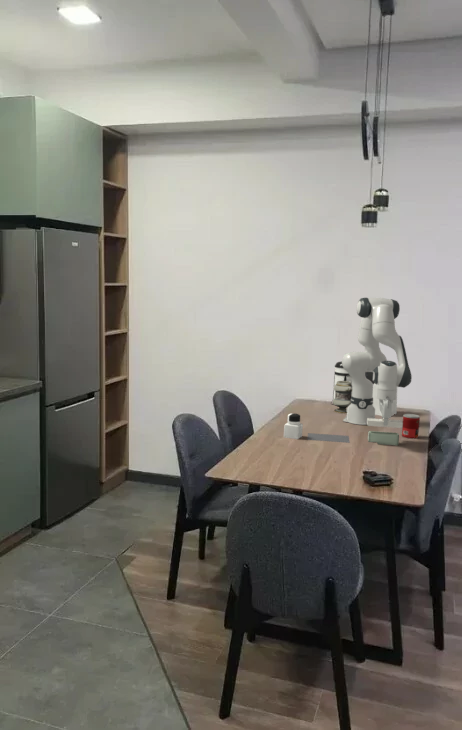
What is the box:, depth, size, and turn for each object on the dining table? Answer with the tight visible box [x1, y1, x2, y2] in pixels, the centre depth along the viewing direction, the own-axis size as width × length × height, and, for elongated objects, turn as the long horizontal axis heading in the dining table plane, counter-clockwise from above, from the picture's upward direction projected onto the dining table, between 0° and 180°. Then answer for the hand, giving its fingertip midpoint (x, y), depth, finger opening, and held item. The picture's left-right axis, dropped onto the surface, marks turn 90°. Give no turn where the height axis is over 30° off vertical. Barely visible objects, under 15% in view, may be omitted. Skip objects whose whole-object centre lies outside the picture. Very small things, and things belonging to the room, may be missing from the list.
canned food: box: [401, 413, 421, 439], centre depth 320 cm, size 8×8×11 cm
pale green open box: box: [367, 430, 400, 446], centre depth 305 cm, size 5×14×5 cm, turn 82°
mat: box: [307, 432, 351, 444], centre depth 309 cm, size 14×20×1 cm
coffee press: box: [330, 360, 352, 405], centre depth 398 cm, size 17×16×30 cm
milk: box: [372, 382, 398, 417], centre depth 375 cm, size 12×12×26 cm
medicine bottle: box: [283, 413, 304, 440], centre depth 307 cm, size 7×7×12 cm
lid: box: [366, 418, 403, 429], centre depth 304 cm, size 6×16×4 cm, turn 82°
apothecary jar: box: [332, 381, 352, 414], centre depth 378 cm, size 12×12×18 cm
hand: (384, 423), depth 304 cm, fingers closed on lid, 6 cm apart
